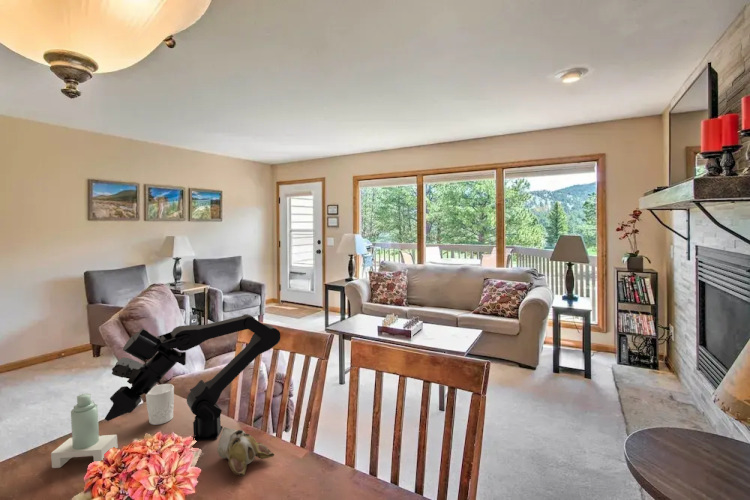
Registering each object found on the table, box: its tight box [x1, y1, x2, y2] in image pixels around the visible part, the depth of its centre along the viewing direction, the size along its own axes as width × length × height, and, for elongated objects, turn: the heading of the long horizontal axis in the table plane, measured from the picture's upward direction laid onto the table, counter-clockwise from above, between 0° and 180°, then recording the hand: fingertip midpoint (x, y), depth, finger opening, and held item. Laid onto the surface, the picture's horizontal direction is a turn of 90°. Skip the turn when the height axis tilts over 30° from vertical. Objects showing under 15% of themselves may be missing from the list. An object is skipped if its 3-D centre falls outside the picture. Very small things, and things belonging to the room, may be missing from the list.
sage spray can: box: [70, 392, 100, 449], centre depth 99 cm, size 6×6×13 cm
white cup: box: [145, 383, 175, 426], centre depth 119 cm, size 8×8×10 cm
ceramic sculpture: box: [217, 427, 275, 477], centre depth 97 cm, size 11×9×15 cm
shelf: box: [50, 434, 119, 469], centre depth 100 cm, size 12×7×4 cm, turn 96°
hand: (114, 411), depth 101 cm, fingers open, 9 cm apart
